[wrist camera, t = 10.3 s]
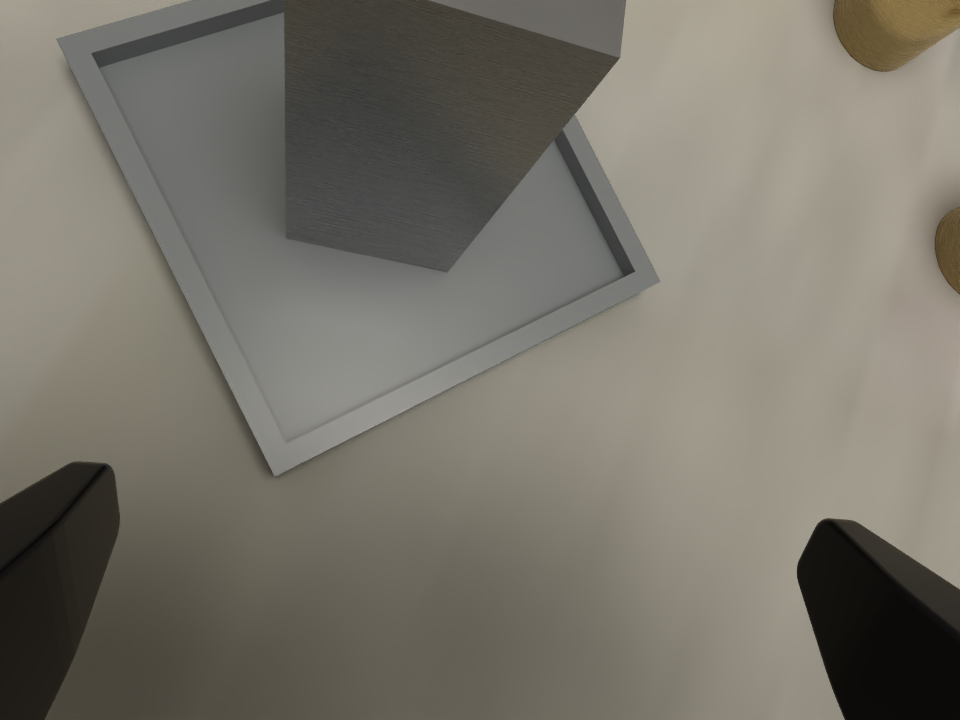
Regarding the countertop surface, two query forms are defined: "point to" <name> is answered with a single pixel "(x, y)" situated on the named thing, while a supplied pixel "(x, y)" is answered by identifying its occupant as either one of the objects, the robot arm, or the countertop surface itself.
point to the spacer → (949, 247)
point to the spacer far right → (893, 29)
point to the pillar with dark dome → (428, 113)
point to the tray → (322, 270)
